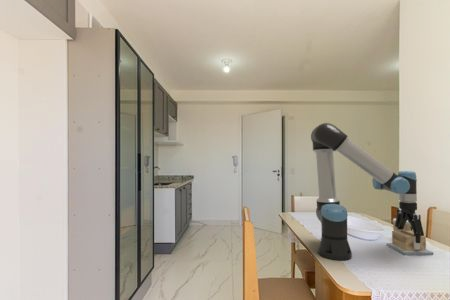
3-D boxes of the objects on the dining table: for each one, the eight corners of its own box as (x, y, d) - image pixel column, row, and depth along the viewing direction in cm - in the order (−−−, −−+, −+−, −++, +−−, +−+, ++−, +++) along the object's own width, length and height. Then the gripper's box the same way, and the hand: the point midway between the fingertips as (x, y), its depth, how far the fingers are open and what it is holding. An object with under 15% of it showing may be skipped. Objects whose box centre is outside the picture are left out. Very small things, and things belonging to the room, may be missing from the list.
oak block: (405, 251, 130) (405, 236, 130) (392, 244, 140) (392, 230, 140) (425, 250, 130) (425, 236, 130) (410, 244, 140) (410, 230, 140)
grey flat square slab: (404, 255, 128) (404, 252, 128) (386, 245, 142) (386, 243, 142) (433, 255, 128) (433, 252, 128) (412, 245, 142) (412, 242, 142)
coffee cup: (416, 245, 142) (416, 222, 143) (397, 243, 144) (396, 221, 144) (408, 239, 151) (407, 218, 152) (390, 238, 153) (389, 217, 154)
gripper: (432, 205, 124) (434, 253, 124) (400, 197, 147) (401, 238, 146) (417, 205, 124) (418, 253, 123) (386, 198, 147) (387, 238, 146)
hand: (408, 245), depth 135 cm, fingers closed on oak block, 10 cm apart
